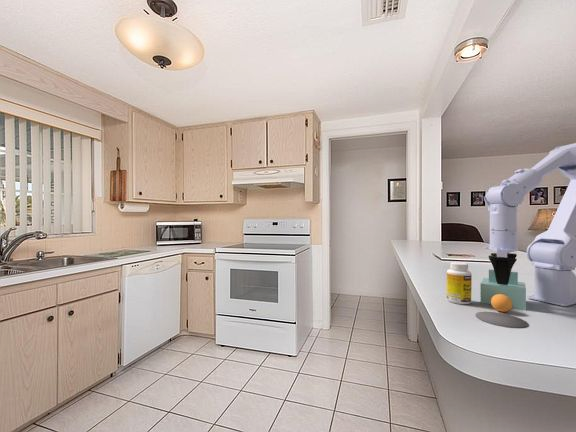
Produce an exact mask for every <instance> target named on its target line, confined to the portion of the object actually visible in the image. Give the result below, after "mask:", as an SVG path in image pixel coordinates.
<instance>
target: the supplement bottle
mask: <svg viewBox="0 0 576 432" xmlns="http://www.w3.org/2000/svg"><path fill="white" fill-rule="evenodd" d="M449 265H450V266H449V267H450V269H447V271H446V300H447V301H449V302H450V303H453V304H458V305H469V304H471V303H472V279H473V278H472V276H473V275H472V272H471V271H470V270H469V264H468V263H466V262H458V261H452V262H450V264H449Z"/></svg>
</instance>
